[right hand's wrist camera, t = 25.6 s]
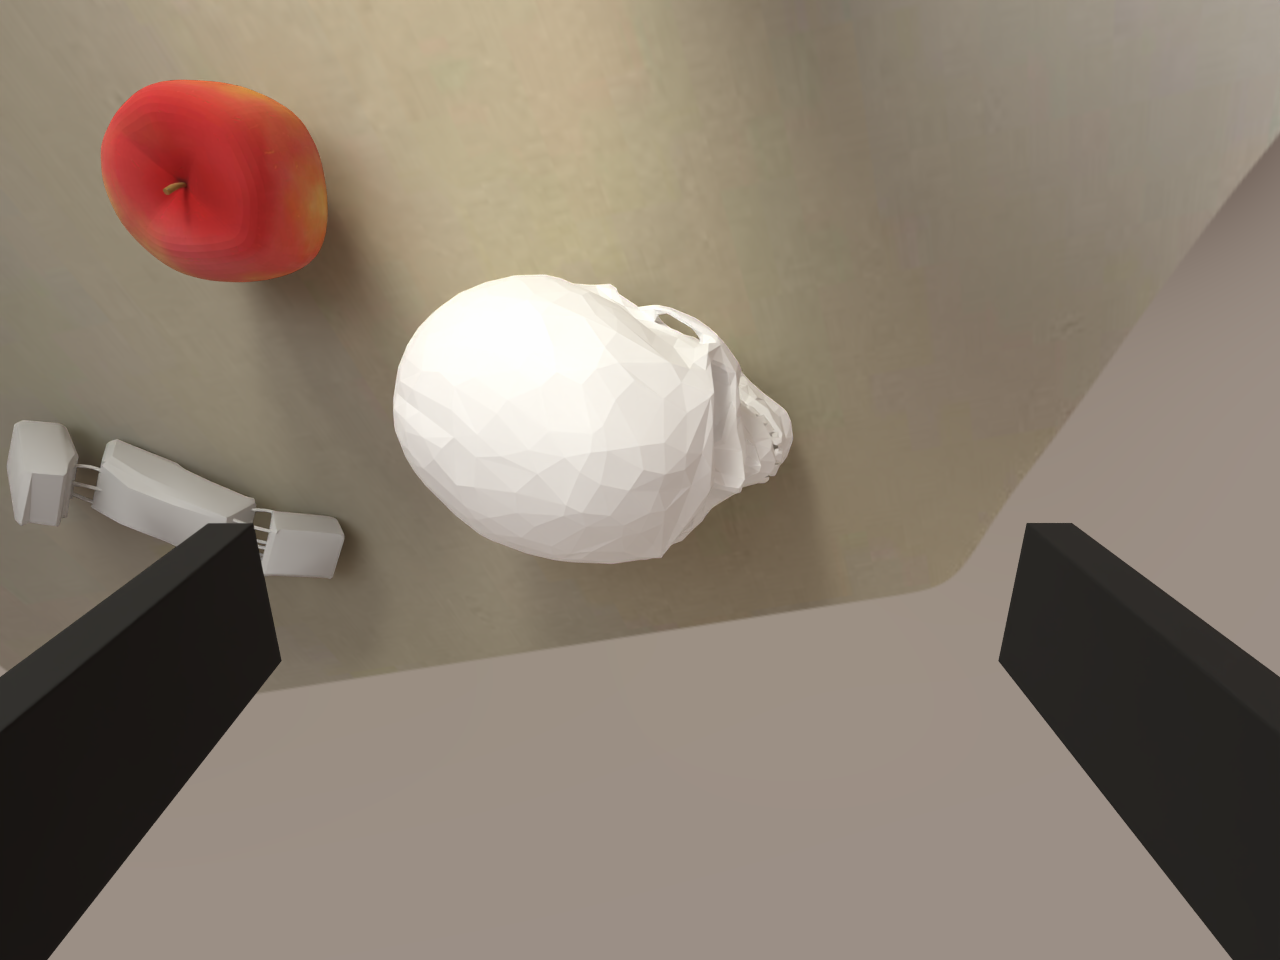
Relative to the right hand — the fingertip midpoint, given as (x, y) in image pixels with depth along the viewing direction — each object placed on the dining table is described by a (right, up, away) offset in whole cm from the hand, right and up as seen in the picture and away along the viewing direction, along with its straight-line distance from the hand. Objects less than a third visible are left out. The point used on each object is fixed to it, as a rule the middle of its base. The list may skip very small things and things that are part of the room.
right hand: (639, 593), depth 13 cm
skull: (-1, +7, +33) cm, 34 cm away
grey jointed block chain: (-29, +1, +35) cm, 45 cm away
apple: (-20, +18, +29) cm, 40 cm away
